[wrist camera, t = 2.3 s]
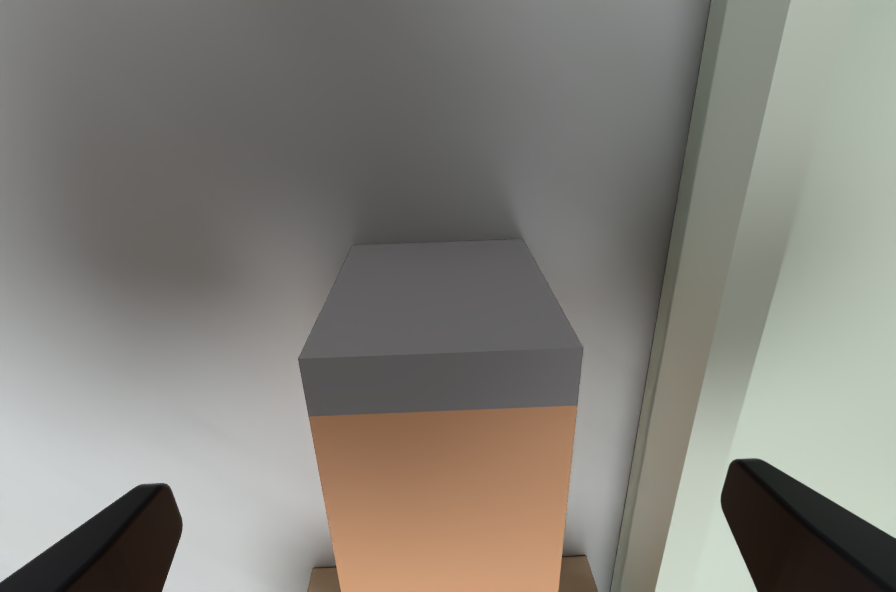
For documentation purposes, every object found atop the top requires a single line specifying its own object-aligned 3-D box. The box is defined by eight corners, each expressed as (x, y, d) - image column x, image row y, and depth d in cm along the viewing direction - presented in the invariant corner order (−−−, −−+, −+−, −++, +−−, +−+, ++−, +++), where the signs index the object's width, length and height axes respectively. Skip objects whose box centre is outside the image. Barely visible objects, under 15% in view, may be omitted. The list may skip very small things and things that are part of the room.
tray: (1301, -83, 9) (1576, -134, 7) (893, 629, 18) (956, 705, 16) (722, -67, 9) (816, -114, 7) (601, 643, 18) (625, 722, 16)
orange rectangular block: (522, 239, 11) (583, 347, 7) (508, 615, 17) (535, 810, 13) (352, 245, 11) (298, 359, 7) (396, 620, 17) (382, 818, 13)
